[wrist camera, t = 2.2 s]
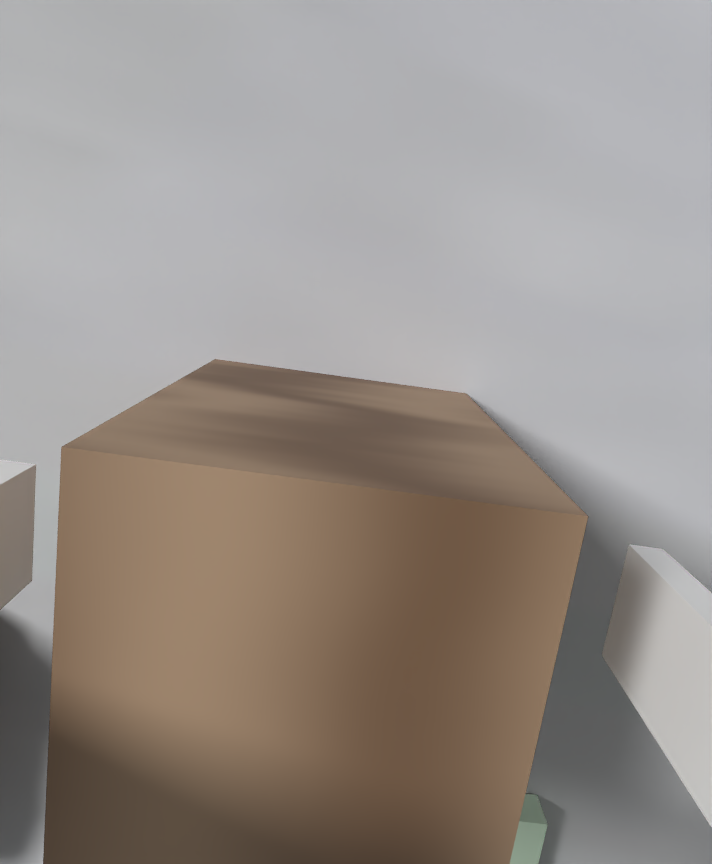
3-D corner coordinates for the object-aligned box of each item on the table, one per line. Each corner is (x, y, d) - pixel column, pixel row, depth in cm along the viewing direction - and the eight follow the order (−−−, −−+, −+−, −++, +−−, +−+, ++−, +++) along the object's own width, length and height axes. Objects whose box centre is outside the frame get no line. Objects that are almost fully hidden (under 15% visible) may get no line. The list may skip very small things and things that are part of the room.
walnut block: (193, 591, 20) (42, 887, 10) (215, 358, 19) (61, 446, 9) (425, 620, 20) (492, 937, 11) (466, 393, 19) (587, 515, 9)
